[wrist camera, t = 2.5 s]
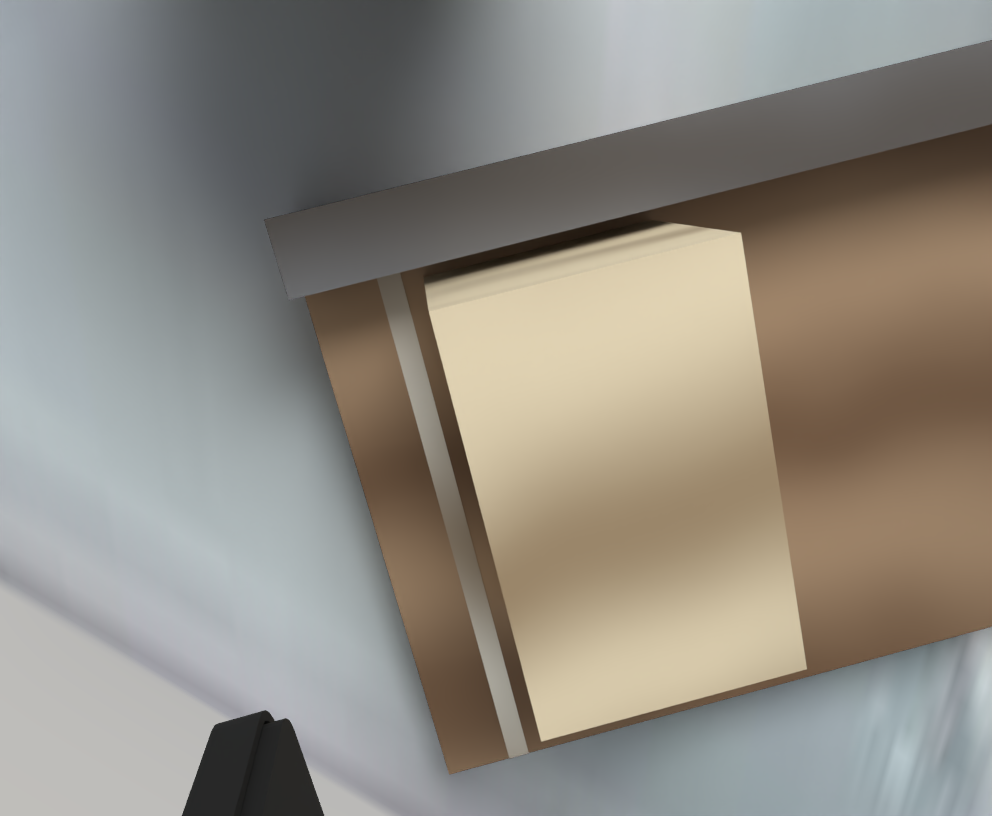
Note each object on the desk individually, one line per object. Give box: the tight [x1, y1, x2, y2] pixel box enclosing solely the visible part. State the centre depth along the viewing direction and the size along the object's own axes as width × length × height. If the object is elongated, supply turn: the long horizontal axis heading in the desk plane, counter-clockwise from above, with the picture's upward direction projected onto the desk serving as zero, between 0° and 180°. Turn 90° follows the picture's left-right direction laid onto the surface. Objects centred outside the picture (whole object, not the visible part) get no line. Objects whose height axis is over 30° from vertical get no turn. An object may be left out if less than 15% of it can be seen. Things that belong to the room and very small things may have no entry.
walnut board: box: [264, 40, 992, 774], centre depth 19 cm, size 14×26×4 cm, turn 103°
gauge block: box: [423, 220, 807, 742], centre depth 16 cm, size 9×5×5 cm, turn 13°
